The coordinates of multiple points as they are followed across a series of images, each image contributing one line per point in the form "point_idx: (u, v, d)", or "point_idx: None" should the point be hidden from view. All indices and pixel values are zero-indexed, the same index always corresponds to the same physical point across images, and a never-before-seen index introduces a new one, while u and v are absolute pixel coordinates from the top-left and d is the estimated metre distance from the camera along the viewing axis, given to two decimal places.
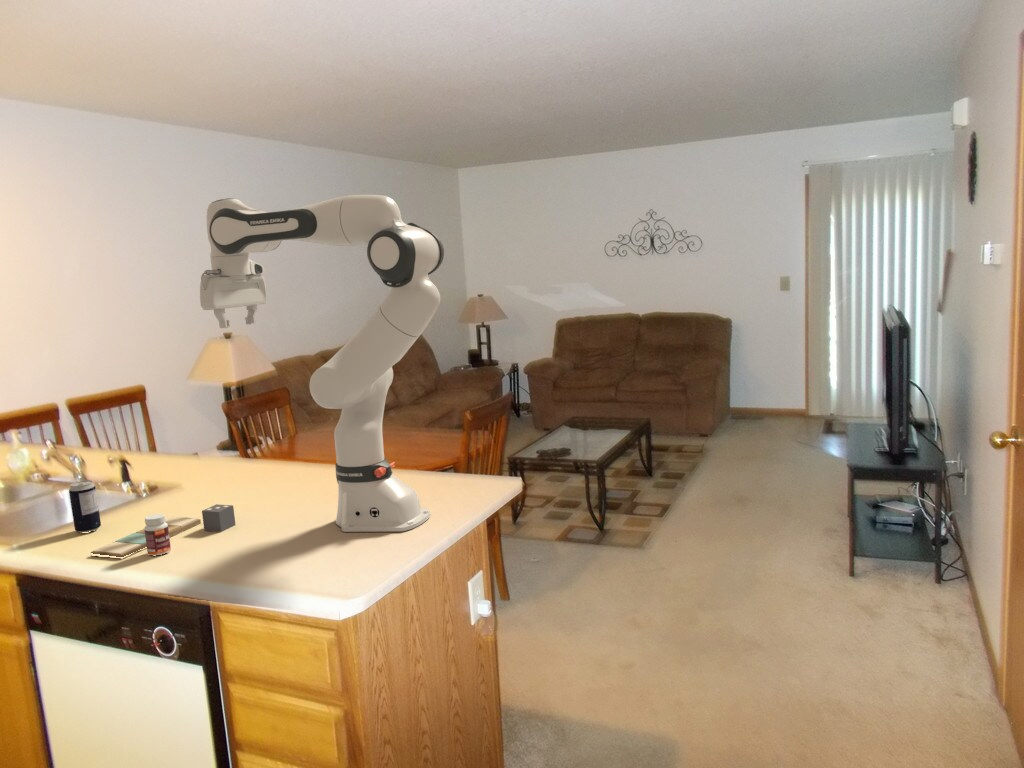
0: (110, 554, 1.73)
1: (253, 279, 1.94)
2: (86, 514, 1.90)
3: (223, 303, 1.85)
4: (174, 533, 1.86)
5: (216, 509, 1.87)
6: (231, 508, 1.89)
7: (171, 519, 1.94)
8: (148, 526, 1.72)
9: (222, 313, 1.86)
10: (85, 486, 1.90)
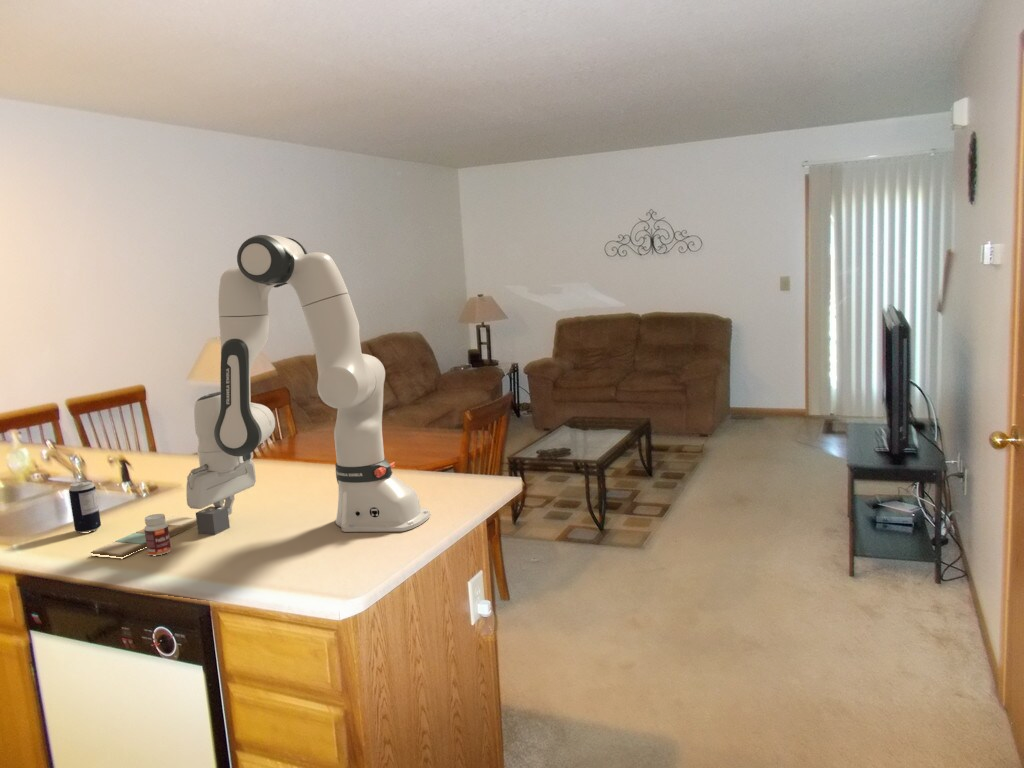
0: (110, 554, 1.73)
1: (241, 467, 1.93)
2: (86, 514, 1.90)
3: (209, 500, 1.84)
4: (174, 533, 1.86)
5: (210, 511, 1.85)
6: (225, 510, 1.87)
7: (171, 519, 1.94)
8: (148, 526, 1.72)
9: (221, 504, 1.88)
10: (85, 486, 1.90)
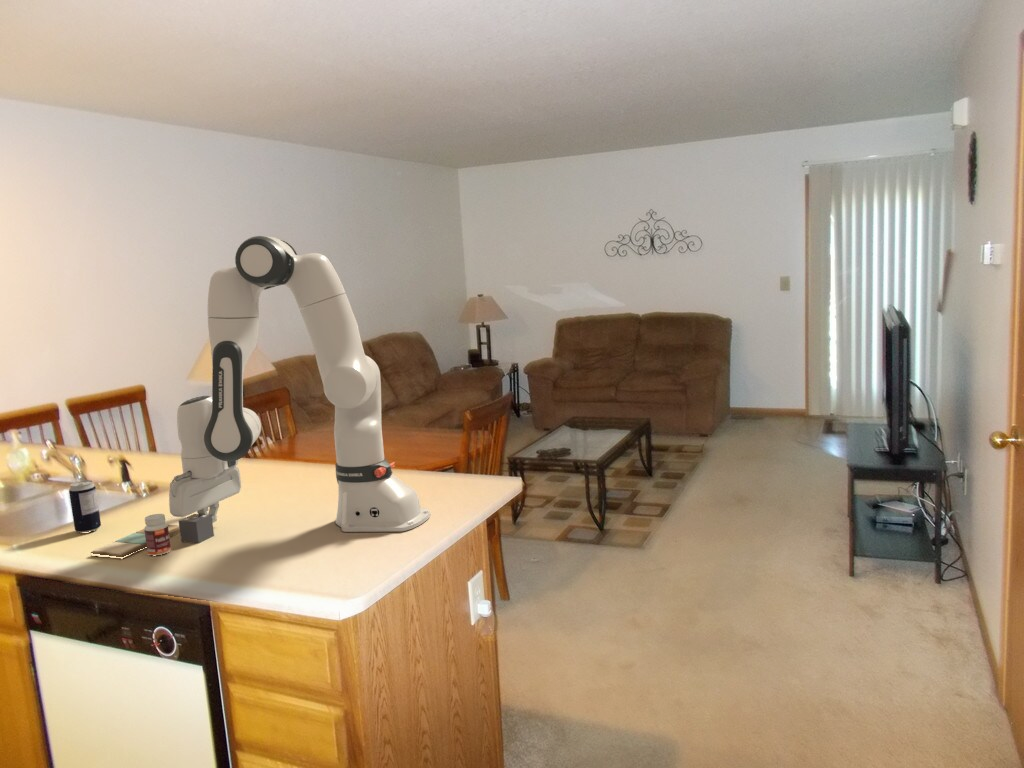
0: (110, 554, 1.73)
1: (226, 473, 1.88)
2: (86, 514, 1.90)
3: (193, 507, 1.79)
4: (174, 533, 1.86)
5: (193, 519, 1.80)
6: (209, 518, 1.82)
7: (171, 519, 1.94)
8: (148, 526, 1.72)
9: (205, 511, 1.83)
10: (85, 486, 1.90)
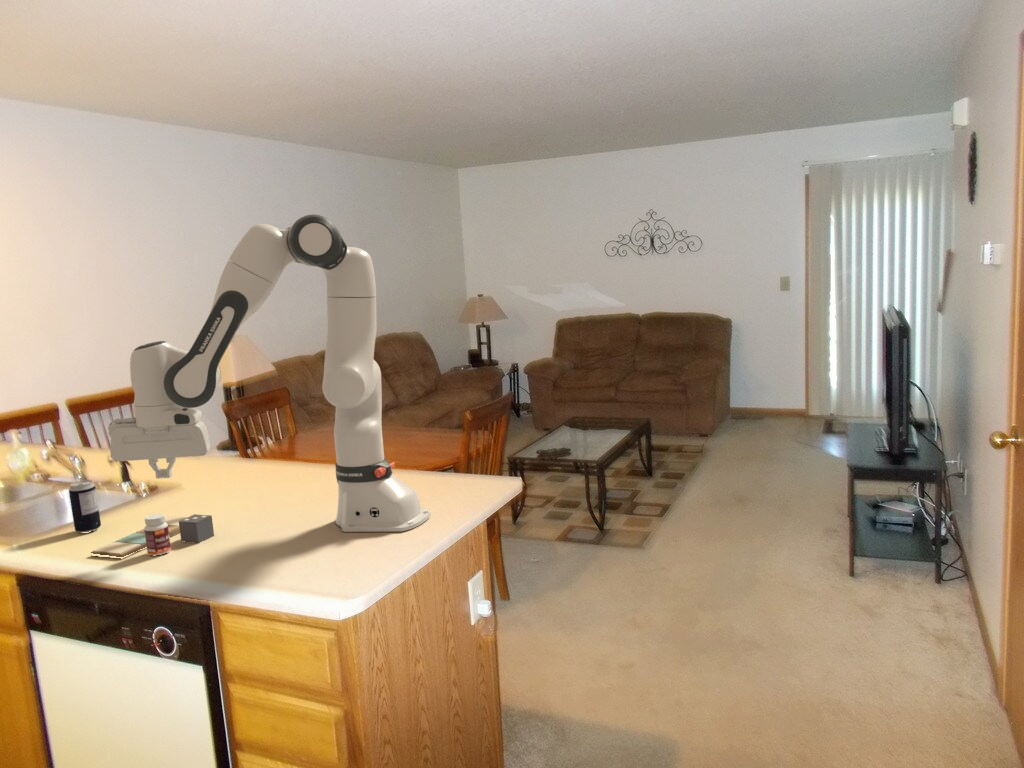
0: (110, 554, 1.73)
1: (176, 430, 1.72)
2: (86, 514, 1.90)
3: (127, 455, 1.71)
4: (174, 533, 1.86)
5: (193, 519, 1.80)
6: (209, 518, 1.82)
7: (171, 519, 1.94)
8: (148, 526, 1.72)
9: (150, 463, 1.73)
10: (85, 486, 1.90)
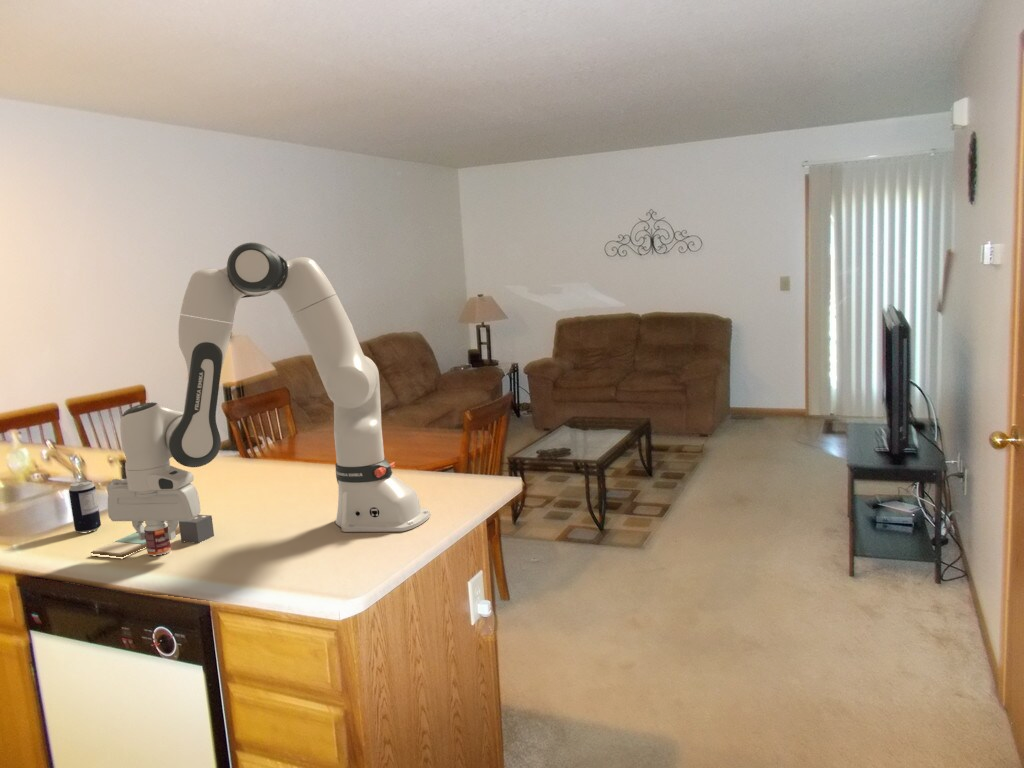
0: (110, 554, 1.73)
1: (163, 494, 1.69)
2: (86, 514, 1.90)
3: (122, 516, 1.72)
4: None
5: (193, 519, 1.80)
6: (209, 518, 1.82)
7: None
8: (148, 526, 1.72)
9: (134, 525, 1.73)
10: (85, 486, 1.90)
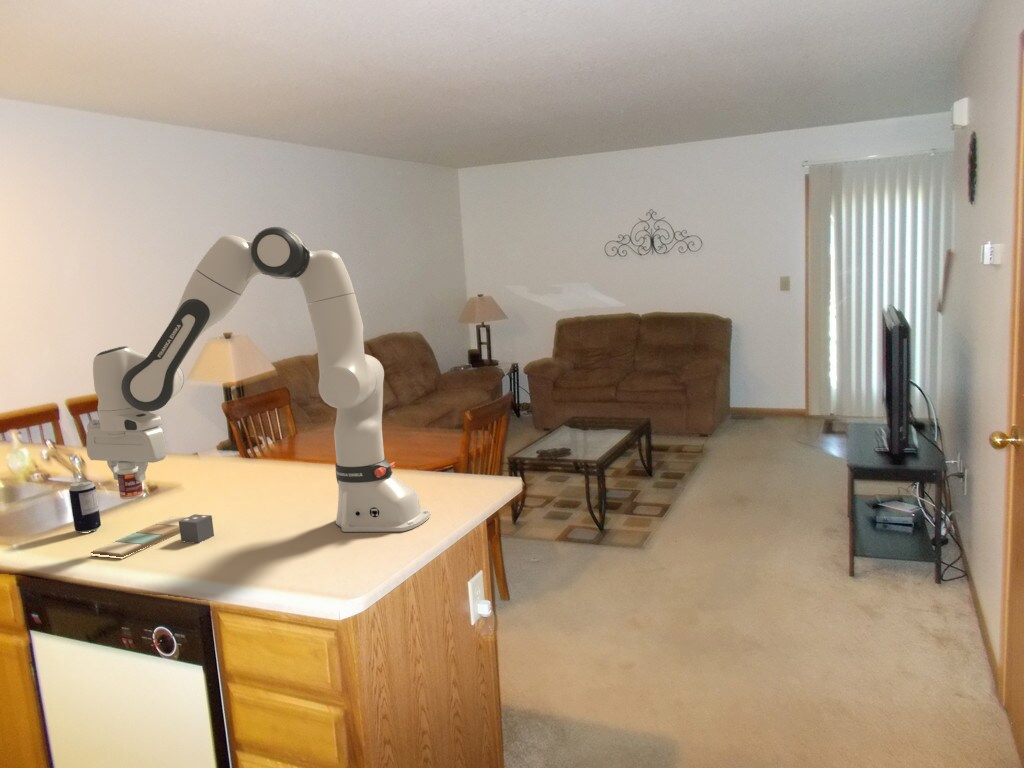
0: (110, 554, 1.73)
1: (129, 435, 1.74)
2: (86, 514, 1.90)
3: (98, 455, 1.79)
4: (174, 533, 1.86)
5: (193, 519, 1.80)
6: (209, 518, 1.82)
7: (171, 519, 1.94)
8: (120, 470, 1.77)
9: (109, 465, 1.79)
10: (85, 486, 1.90)
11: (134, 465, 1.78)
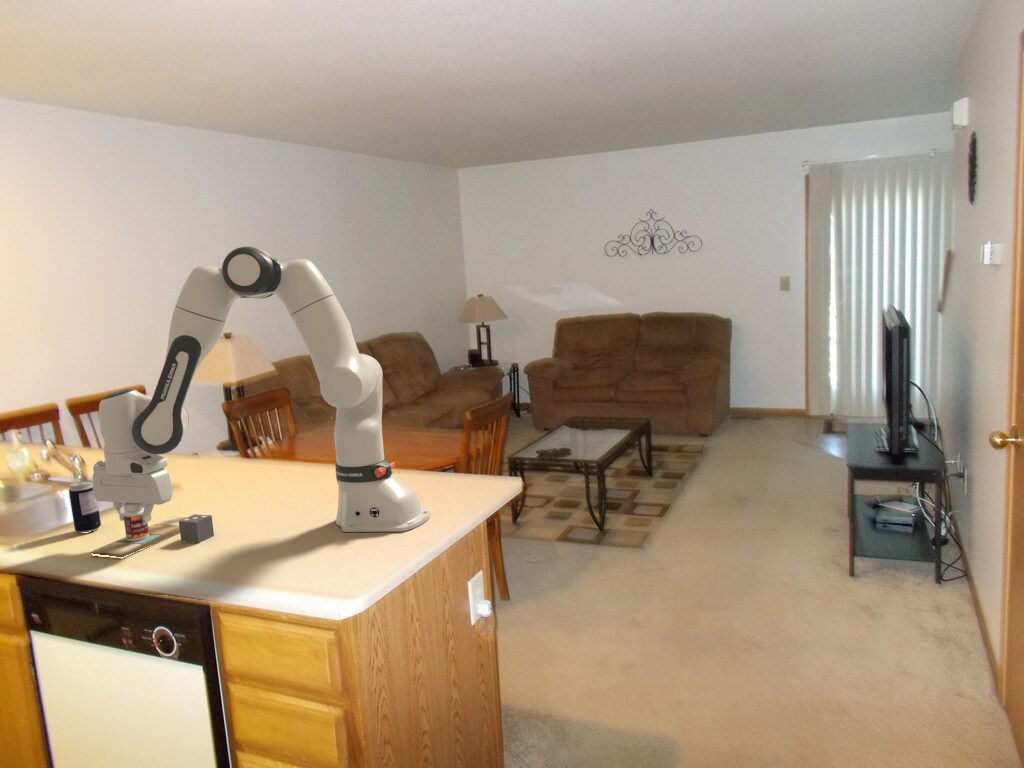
0: (110, 554, 1.73)
1: (135, 478, 1.75)
2: (86, 514, 1.90)
3: (104, 496, 1.80)
4: (174, 533, 1.86)
5: (193, 519, 1.80)
6: (209, 518, 1.82)
7: (171, 519, 1.94)
8: (126, 512, 1.79)
9: (115, 506, 1.81)
10: (85, 486, 1.90)
11: (140, 507, 1.79)
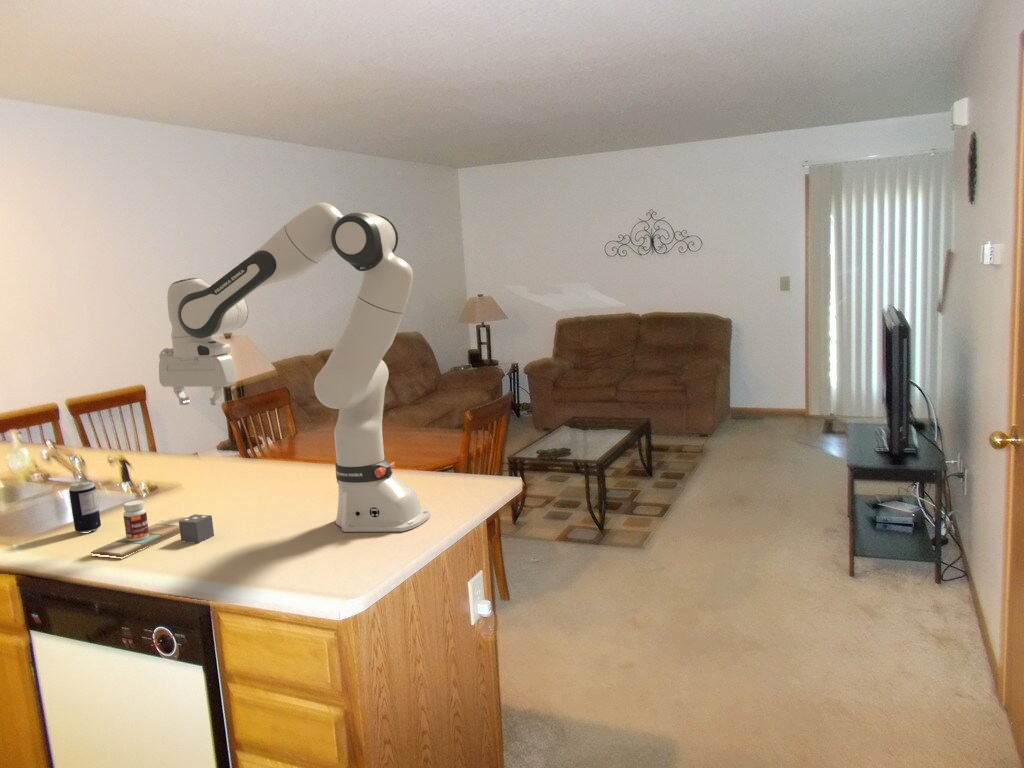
0: (110, 554, 1.73)
1: (202, 361, 1.85)
2: (86, 514, 1.90)
3: (170, 381, 1.90)
4: (174, 533, 1.86)
5: (193, 519, 1.80)
6: (209, 518, 1.82)
7: (171, 519, 1.94)
8: (126, 512, 1.79)
9: (175, 391, 1.91)
10: (85, 486, 1.90)
11: (140, 507, 1.79)
